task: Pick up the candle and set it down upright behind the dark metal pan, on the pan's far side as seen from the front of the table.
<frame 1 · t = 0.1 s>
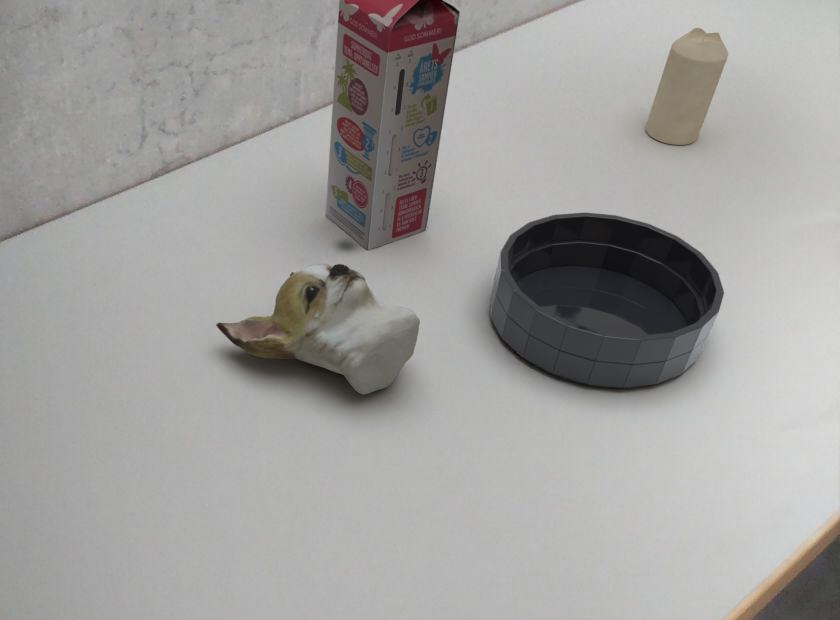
juice carton: (375, 224, 87), on the table
pan: (593, 323, 78), on the table
ceramic sculpture: (327, 360, 74), on the table
candle: (670, 135, 101), on the table
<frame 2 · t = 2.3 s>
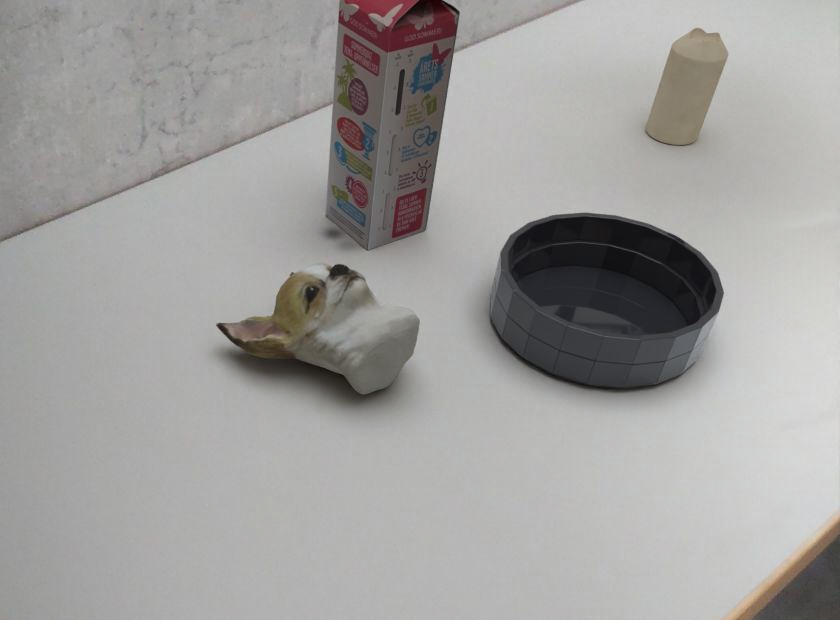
nothing on the table moved.
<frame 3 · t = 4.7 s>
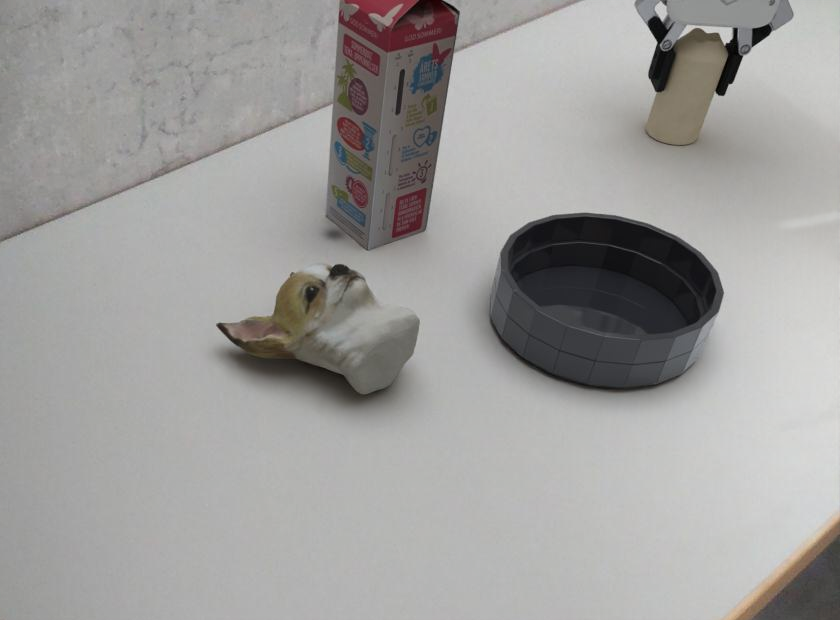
hand: (687, 86, 97), 5 cm above the table, tool pointing down, fingers closed on candle, 5 cm apart
candle: (670, 135, 101), on the table, touching gripper
everything else where it was.
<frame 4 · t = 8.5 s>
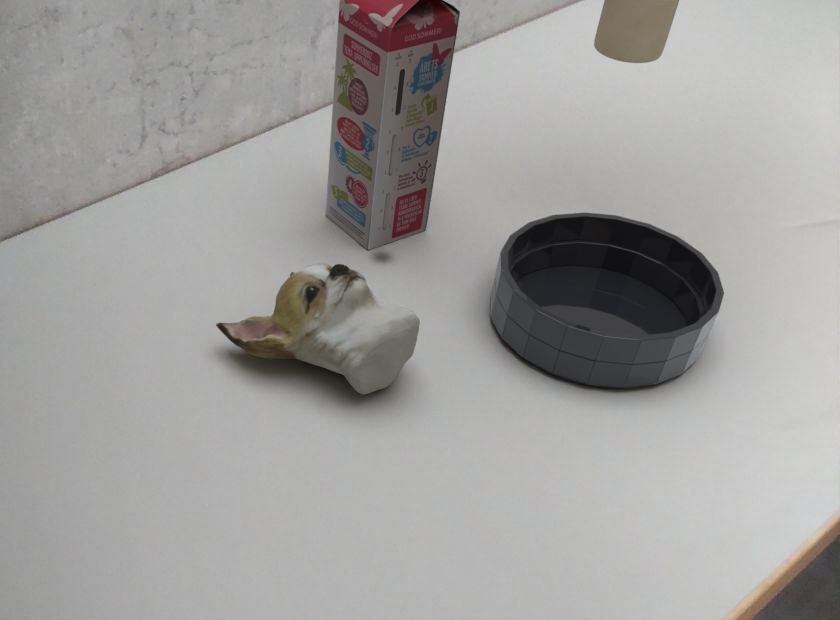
candle: (626, 52, 77), point 15 cm above the table, touching gripper
everything else where it was.
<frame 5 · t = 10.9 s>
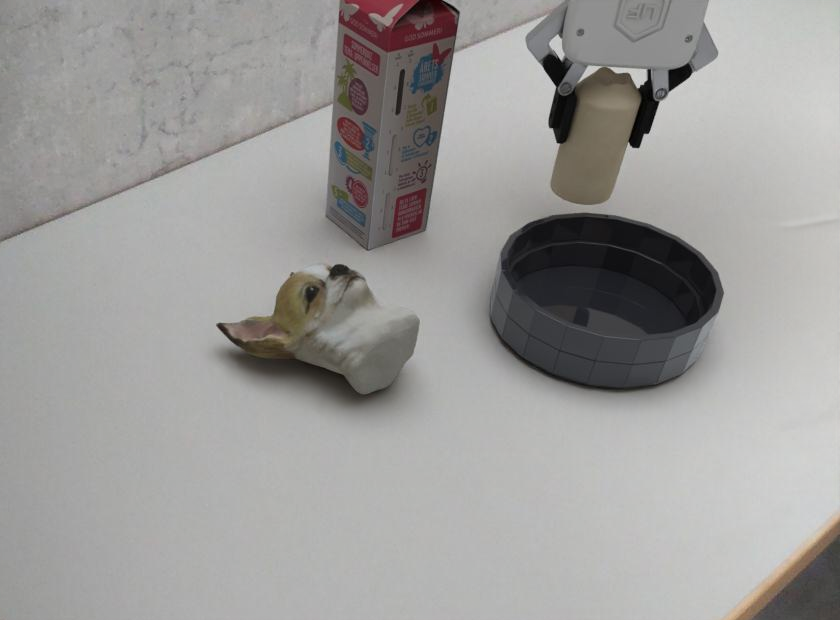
hand: (595, 136, 81), 9 cm above the table, tool pointing down, fingers closed on candle, 5 cm apart
candle: (579, 191, 85), point 4 cm above the table, touching gripper
everything else where it was.
when the fingers open (5 cm above the table, at t = 12.4 s): candle stays where it is, on the table.
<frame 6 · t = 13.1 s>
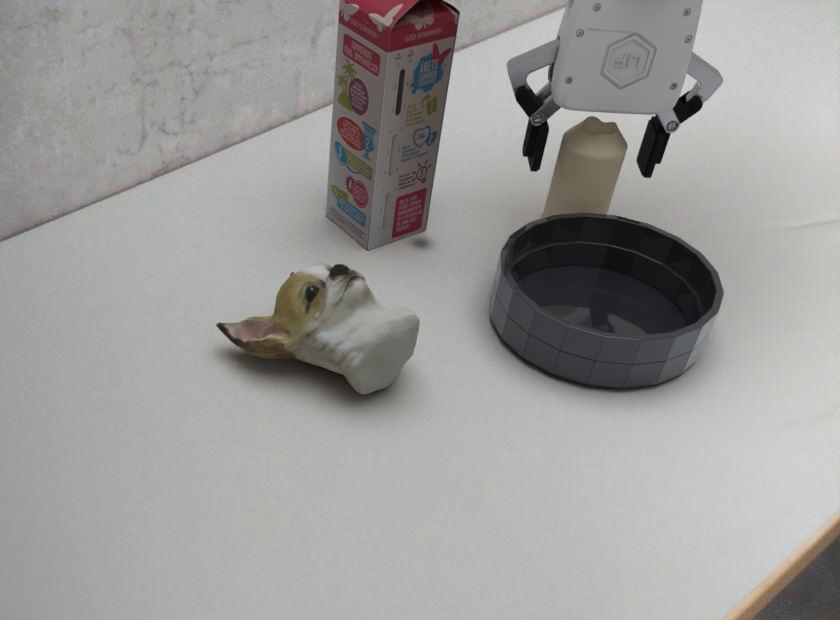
hand: (587, 167, 83), 6 cm above the table, tool pointing down, fingers open, 9 cm apart
candle: (569, 232, 88), on the table
everything else where it was.
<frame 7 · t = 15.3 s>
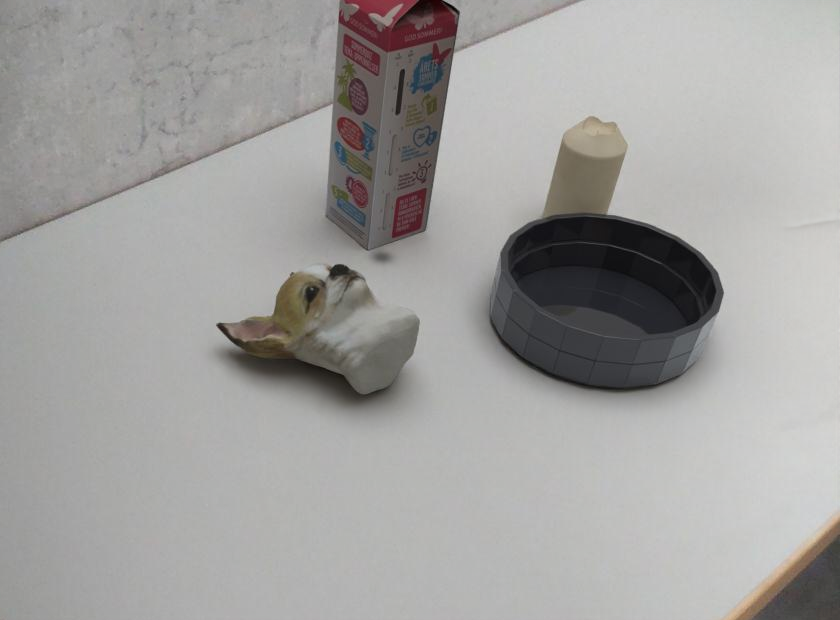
nothing on the table moved.
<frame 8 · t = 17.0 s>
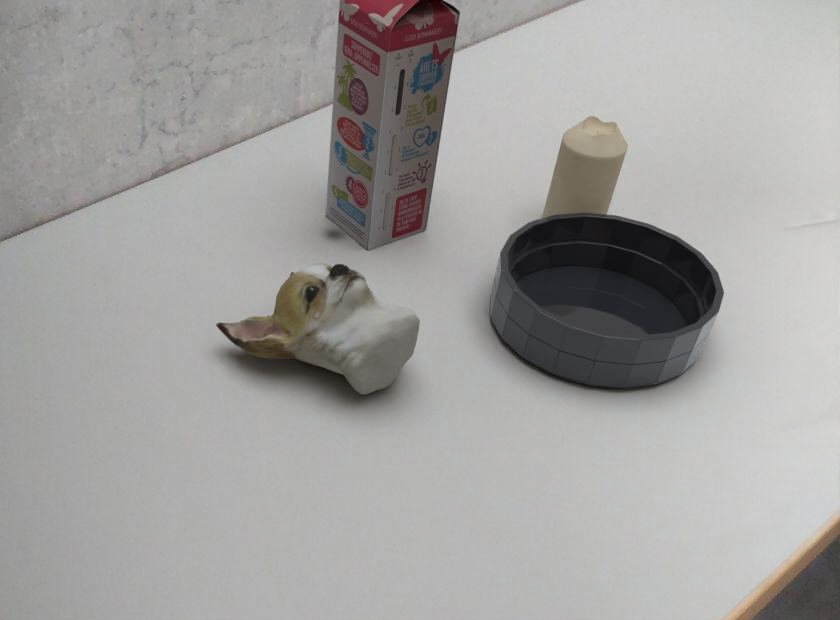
nothing on the table moved.
at the end: candle inside the target area on the table beside the pan (0.1 cm from its centre), on the table; candle tilted 0°; the gripper is holding nothing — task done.
